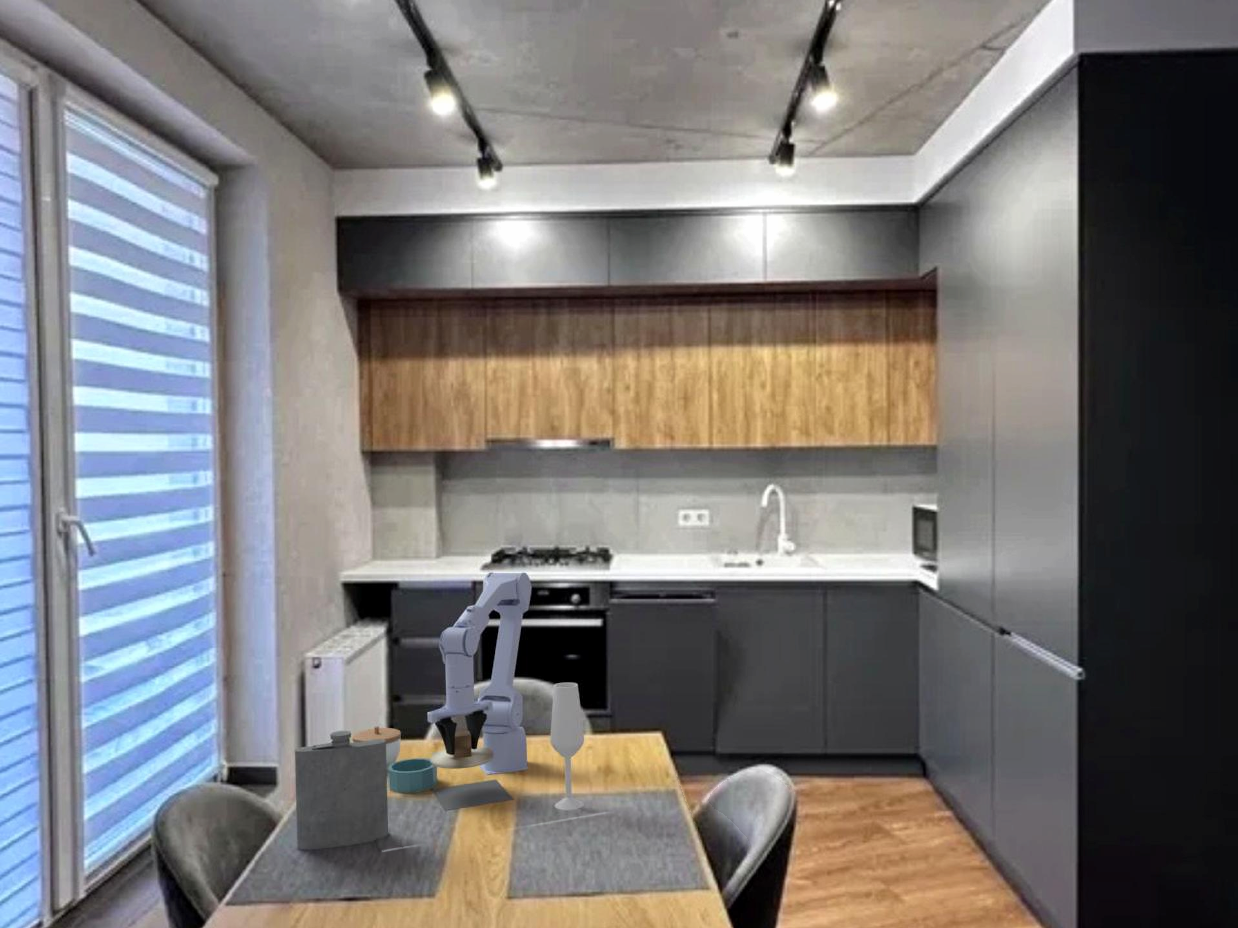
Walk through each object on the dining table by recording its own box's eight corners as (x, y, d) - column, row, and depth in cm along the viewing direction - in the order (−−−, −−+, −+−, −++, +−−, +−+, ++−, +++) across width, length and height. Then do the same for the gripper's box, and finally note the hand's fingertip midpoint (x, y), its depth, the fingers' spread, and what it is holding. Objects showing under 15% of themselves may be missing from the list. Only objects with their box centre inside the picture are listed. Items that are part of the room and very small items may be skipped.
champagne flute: (592, 803, 189) (588, 682, 189) (574, 814, 183) (571, 689, 183) (563, 798, 192) (560, 680, 192) (545, 809, 186) (542, 687, 186)
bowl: (431, 776, 209) (431, 755, 209) (440, 789, 200) (440, 768, 200) (385, 782, 205) (384, 762, 205) (392, 796, 196) (392, 775, 196)
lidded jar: (394, 774, 211) (393, 732, 211) (347, 775, 211) (346, 733, 211) (406, 760, 222) (405, 720, 222) (361, 761, 222) (360, 721, 222)
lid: (489, 747, 204) (488, 722, 204) (497, 764, 192) (496, 738, 192) (427, 753, 201) (427, 728, 201) (432, 771, 188) (431, 745, 188)
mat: (496, 781, 204) (496, 779, 204) (513, 801, 191) (513, 799, 191) (431, 790, 199) (431, 789, 199) (444, 812, 186) (444, 810, 186)
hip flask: (387, 832, 176) (385, 724, 176) (389, 840, 172) (386, 730, 173) (297, 844, 172) (294, 733, 172) (296, 852, 168) (293, 739, 168)
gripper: (479, 676, 204) (480, 740, 204) (419, 688, 195) (420, 754, 195) (497, 681, 199) (499, 746, 199) (436, 693, 189) (438, 761, 189)
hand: (461, 750), depth 196 cm, fingers closed on lid, 5 cm apart
